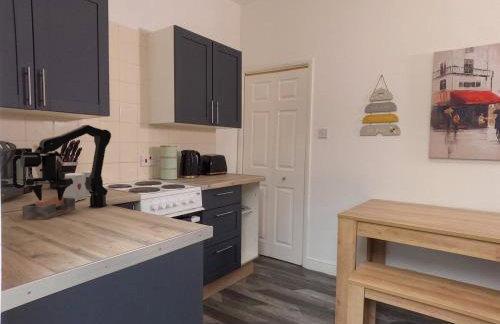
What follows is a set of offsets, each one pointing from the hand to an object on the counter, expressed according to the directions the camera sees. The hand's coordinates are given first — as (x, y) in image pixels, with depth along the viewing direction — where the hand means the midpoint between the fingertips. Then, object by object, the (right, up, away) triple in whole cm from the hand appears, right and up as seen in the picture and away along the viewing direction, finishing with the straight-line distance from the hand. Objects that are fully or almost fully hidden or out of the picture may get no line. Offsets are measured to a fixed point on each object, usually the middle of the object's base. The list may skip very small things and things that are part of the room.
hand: (50, 200), depth 142 cm
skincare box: (-5, -3, +46) cm, 47 cm away
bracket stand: (0, -6, 0) cm, 6 cm away
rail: (0, -3, 0) cm, 3 cm away
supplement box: (-7, -4, +31) cm, 32 cm away
